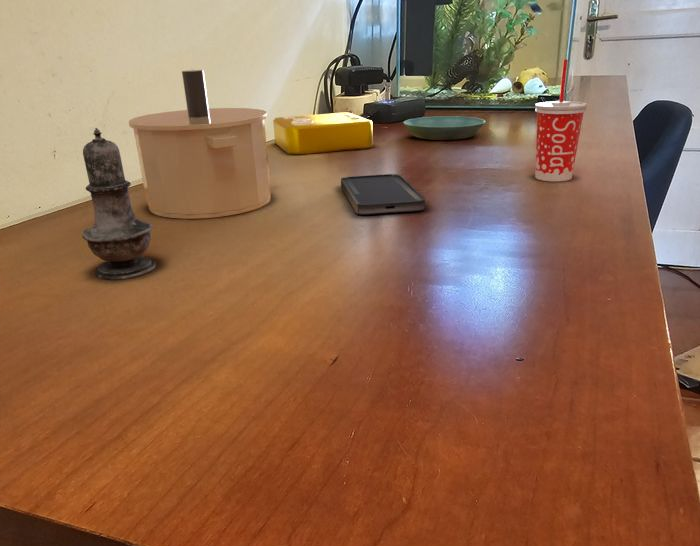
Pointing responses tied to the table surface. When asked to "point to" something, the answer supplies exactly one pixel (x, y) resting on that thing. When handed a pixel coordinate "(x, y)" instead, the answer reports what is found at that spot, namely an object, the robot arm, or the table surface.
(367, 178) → the phone
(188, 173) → the pot
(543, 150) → the beverage cup
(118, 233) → the salt shaker
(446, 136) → the saucer
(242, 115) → the pot lid
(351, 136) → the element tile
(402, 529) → the table surface
